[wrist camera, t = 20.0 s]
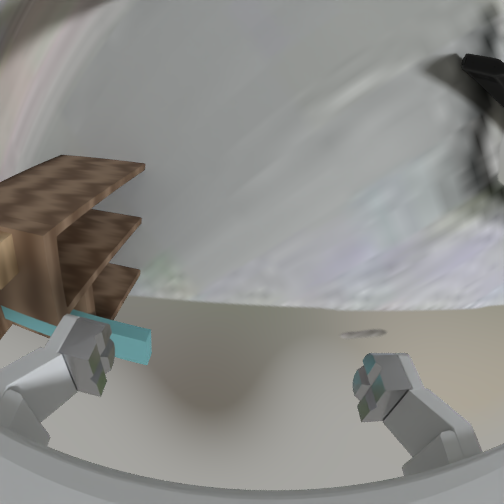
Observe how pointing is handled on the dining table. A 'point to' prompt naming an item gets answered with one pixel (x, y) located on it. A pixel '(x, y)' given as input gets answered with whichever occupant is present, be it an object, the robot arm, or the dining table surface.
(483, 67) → the magazine
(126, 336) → the slat
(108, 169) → the rack
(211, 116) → the dining table surface
